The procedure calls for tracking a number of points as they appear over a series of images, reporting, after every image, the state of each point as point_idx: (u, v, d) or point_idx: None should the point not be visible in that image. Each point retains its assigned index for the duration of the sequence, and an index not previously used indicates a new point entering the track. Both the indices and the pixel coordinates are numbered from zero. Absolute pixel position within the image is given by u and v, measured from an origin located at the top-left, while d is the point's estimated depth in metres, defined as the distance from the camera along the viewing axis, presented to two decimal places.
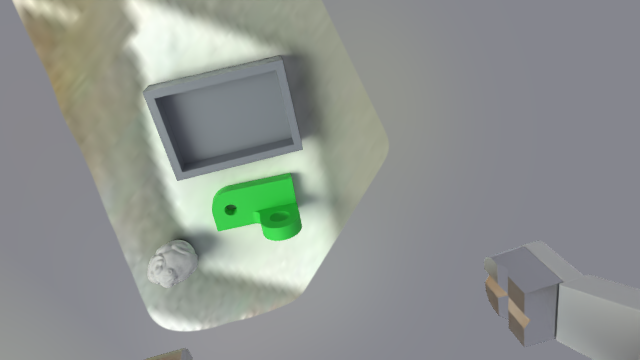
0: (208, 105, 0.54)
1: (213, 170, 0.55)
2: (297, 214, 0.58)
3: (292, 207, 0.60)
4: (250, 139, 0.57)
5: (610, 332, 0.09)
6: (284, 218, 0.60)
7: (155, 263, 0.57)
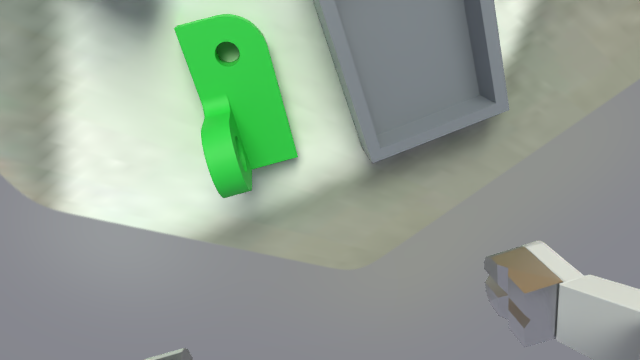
0: None
1: (326, 15, 0.29)
2: (250, 185, 0.32)
3: (249, 167, 0.34)
4: (366, 72, 0.34)
5: (610, 332, 0.09)
6: None
7: None
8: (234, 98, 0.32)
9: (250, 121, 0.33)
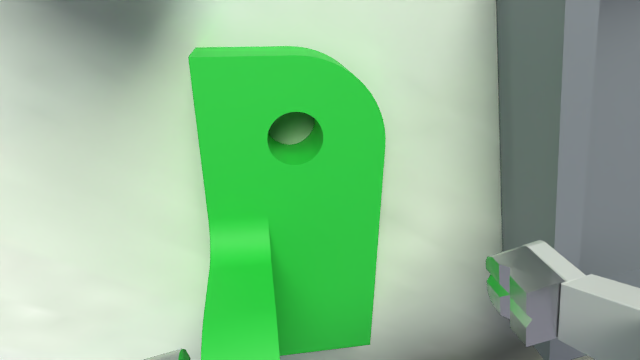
0: None
1: (567, 85, 0.12)
2: None
3: None
4: None
5: (612, 331, 0.09)
6: None
7: None
8: (282, 228, 0.15)
9: (301, 274, 0.16)
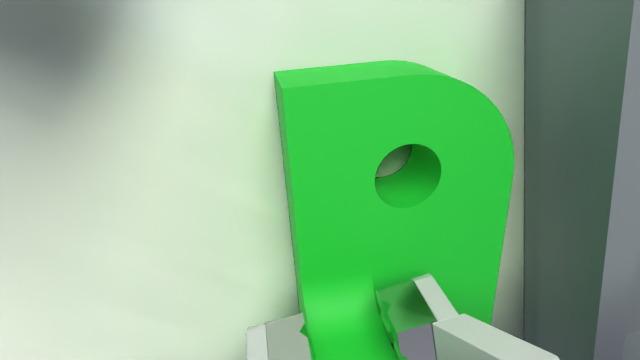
0: None
1: (627, 125, 0.10)
2: None
3: None
4: None
5: None
6: None
7: None
8: (388, 282, 0.12)
9: None
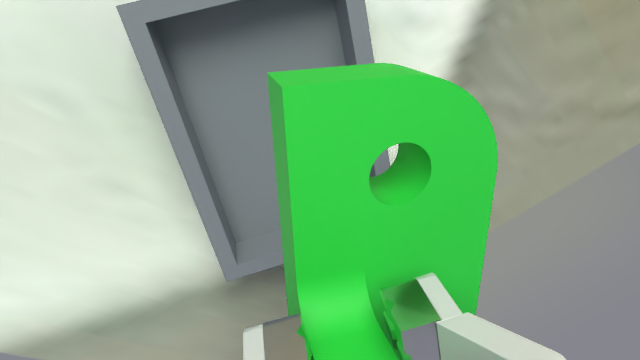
0: None
1: (159, 103, 0.22)
2: None
3: None
4: (228, 168, 0.27)
5: None
6: None
7: None
8: (380, 279, 0.12)
9: None
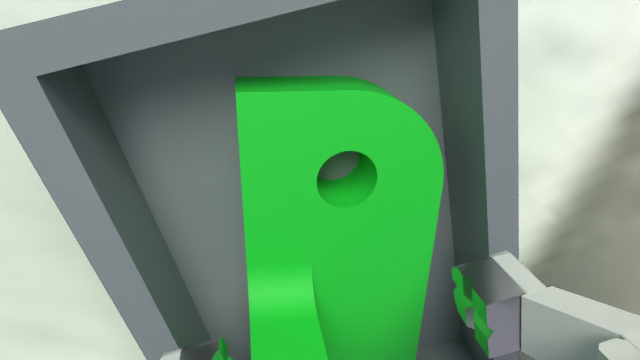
0: None
1: (82, 235, 0.11)
2: None
3: None
4: (230, 303, 0.16)
5: (570, 345, 0.09)
6: None
7: None
8: (326, 274, 0.13)
9: (343, 322, 0.14)
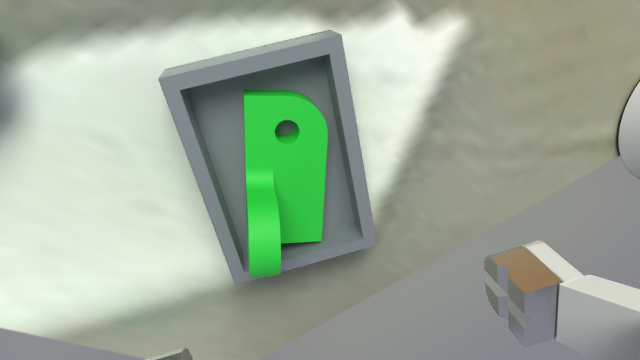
0: None
1: (187, 148, 0.29)
2: None
3: None
4: (238, 194, 0.34)
5: (610, 332, 0.09)
6: None
7: None
8: (279, 174, 0.31)
9: (287, 198, 0.32)
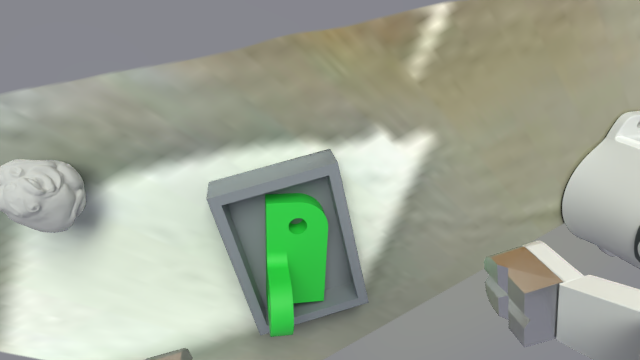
0: None
1: (226, 243, 0.39)
2: None
3: None
4: (262, 266, 0.44)
5: (610, 332, 0.09)
6: None
7: (44, 177, 0.32)
8: (291, 255, 0.42)
9: (297, 271, 0.43)
